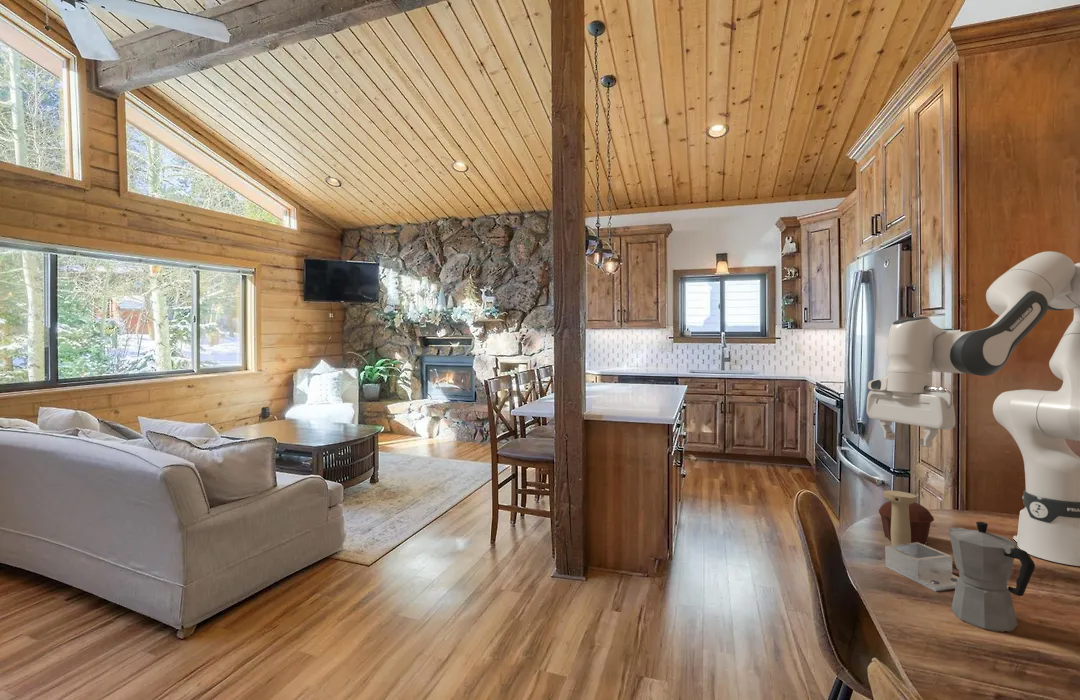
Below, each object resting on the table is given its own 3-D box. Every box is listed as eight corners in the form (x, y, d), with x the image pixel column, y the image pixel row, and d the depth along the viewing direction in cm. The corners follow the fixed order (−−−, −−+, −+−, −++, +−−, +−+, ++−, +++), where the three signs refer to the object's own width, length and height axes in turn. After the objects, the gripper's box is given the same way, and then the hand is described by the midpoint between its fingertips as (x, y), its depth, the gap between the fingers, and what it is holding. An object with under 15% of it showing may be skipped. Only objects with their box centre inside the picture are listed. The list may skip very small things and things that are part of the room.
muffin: (873, 540, 131) (873, 501, 131) (884, 528, 139) (883, 492, 139) (930, 552, 122) (930, 511, 122) (938, 539, 130) (937, 501, 130)
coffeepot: (929, 602, 99) (927, 511, 99) (972, 599, 100) (971, 509, 100) (1009, 649, 84) (1007, 541, 84) (1059, 644, 85) (1058, 538, 85)
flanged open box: (918, 562, 117) (917, 542, 117) (971, 586, 105) (971, 563, 105) (885, 566, 115) (885, 545, 115) (935, 591, 103) (935, 568, 103)
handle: (914, 563, 117) (913, 498, 117) (882, 554, 122) (881, 493, 122) (920, 557, 120) (919, 494, 120) (888, 549, 125) (887, 489, 125)
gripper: (964, 388, 110) (962, 451, 110) (883, 382, 130) (881, 436, 130) (940, 387, 109) (938, 451, 108) (862, 382, 129) (860, 435, 128)
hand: (907, 443), depth 119 cm, fingers open, 8 cm apart
